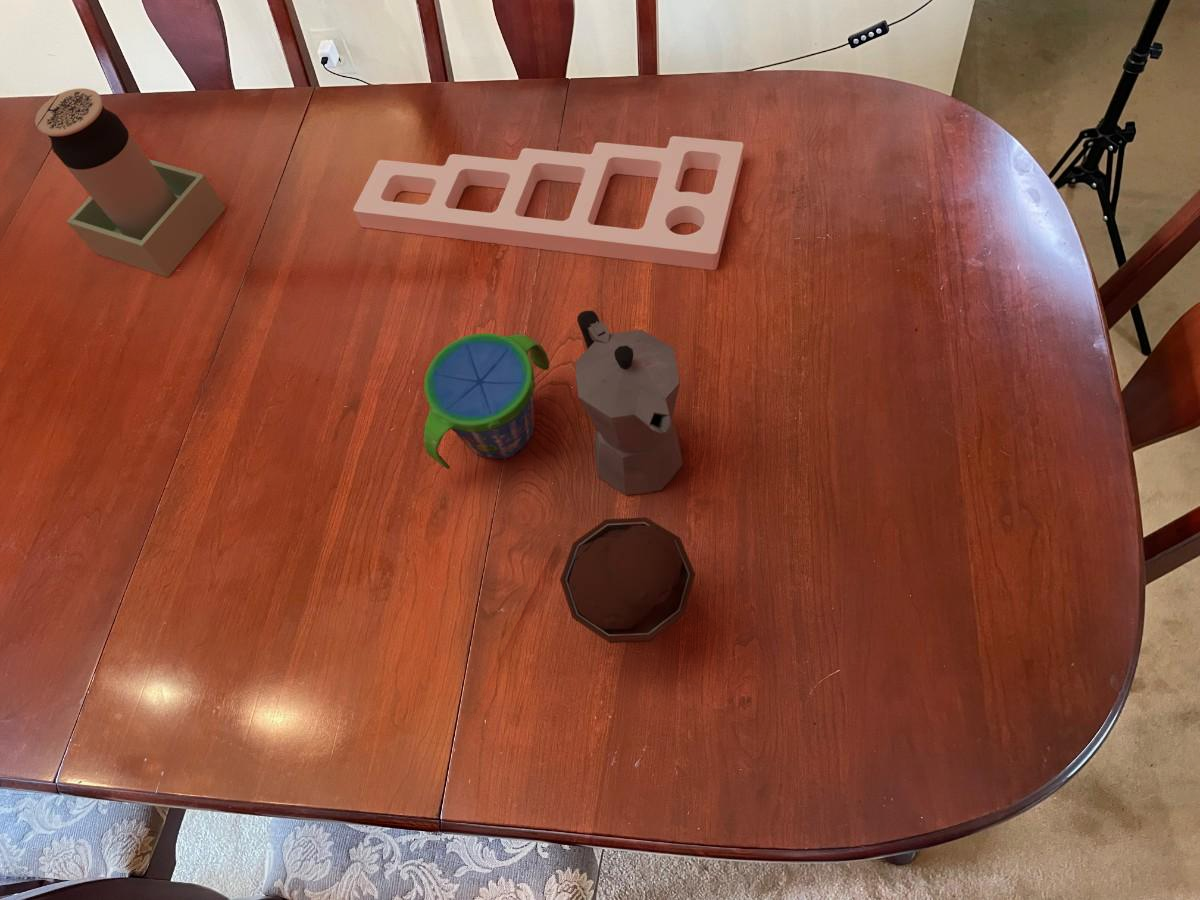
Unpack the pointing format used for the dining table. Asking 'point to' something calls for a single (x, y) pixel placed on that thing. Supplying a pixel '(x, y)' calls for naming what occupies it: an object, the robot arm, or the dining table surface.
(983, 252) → the dining table surface
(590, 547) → the plant pot with soil
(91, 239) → the bin
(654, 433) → the coffeepot
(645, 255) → the holder
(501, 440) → the snack cup
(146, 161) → the travel mug
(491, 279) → the dining table surface
